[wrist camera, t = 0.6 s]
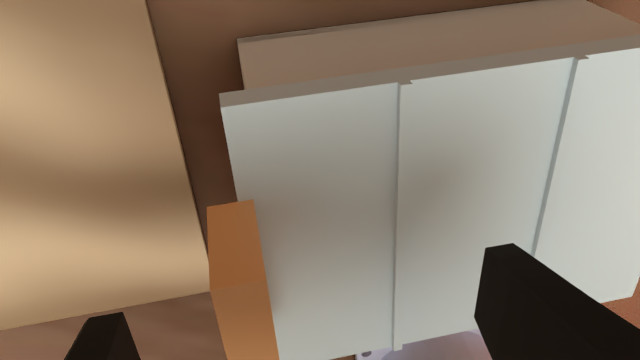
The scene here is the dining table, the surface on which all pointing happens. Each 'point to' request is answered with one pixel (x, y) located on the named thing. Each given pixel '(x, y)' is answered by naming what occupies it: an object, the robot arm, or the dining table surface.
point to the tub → (424, 40)
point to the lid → (422, 195)
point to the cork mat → (90, 165)
